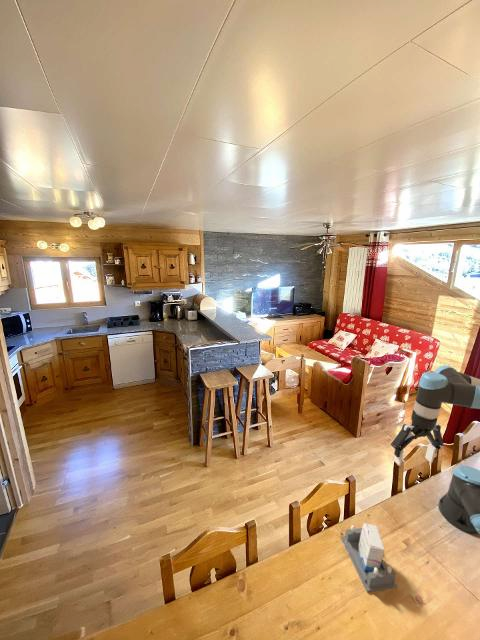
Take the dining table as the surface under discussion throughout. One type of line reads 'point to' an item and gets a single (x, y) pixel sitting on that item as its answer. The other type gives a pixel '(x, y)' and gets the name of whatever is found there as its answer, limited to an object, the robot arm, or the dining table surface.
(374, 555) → the ink box
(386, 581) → the cradle
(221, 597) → the dining table surface
